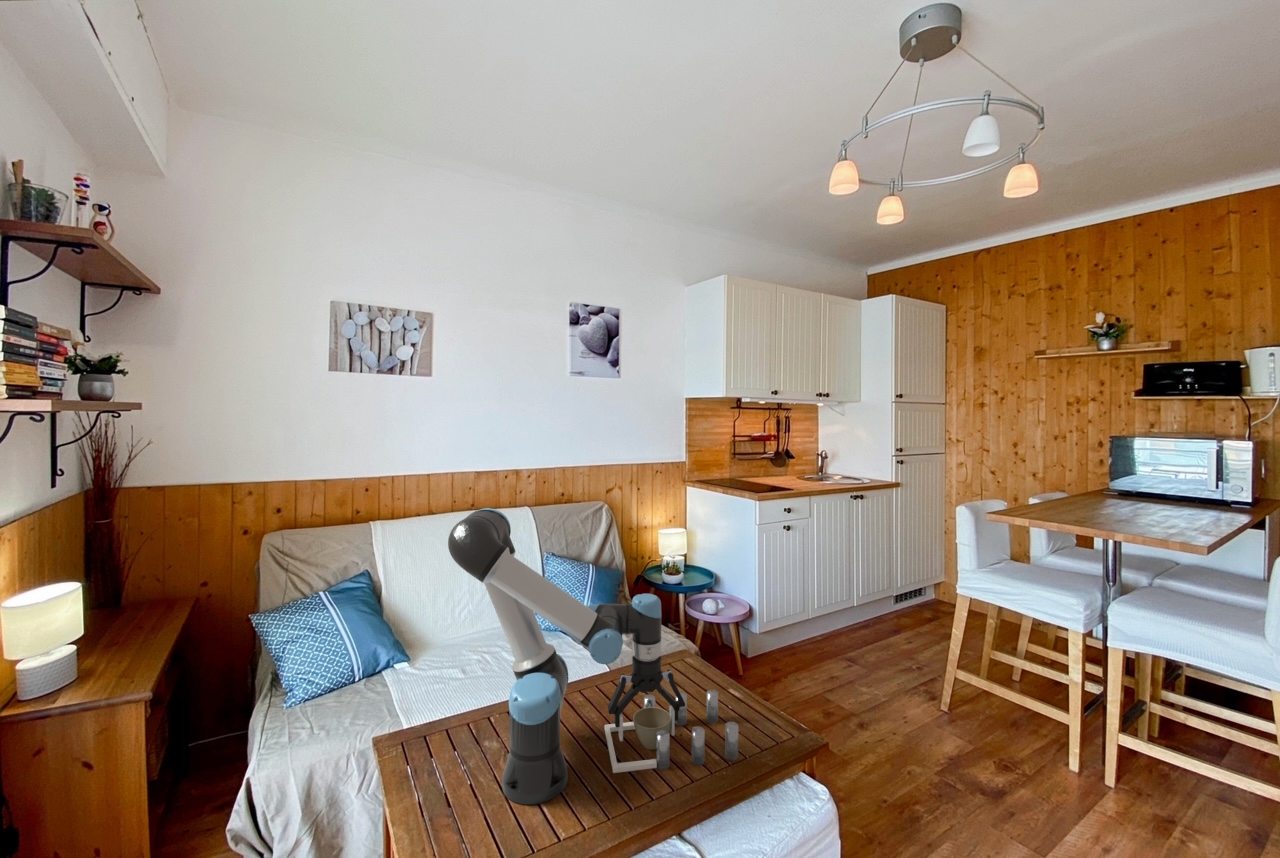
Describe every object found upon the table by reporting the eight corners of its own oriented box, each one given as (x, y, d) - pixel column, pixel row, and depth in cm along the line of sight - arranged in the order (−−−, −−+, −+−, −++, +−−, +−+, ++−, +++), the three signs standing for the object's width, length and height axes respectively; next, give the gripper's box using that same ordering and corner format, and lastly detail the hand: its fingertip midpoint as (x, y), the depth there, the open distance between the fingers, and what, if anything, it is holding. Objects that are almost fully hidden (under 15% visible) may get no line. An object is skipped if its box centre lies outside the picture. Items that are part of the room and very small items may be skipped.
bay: (613, 772, 131) (613, 768, 131) (604, 729, 149) (604, 724, 149) (656, 767, 133) (656, 763, 133) (643, 725, 151) (643, 720, 151)
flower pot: (679, 743, 142) (679, 717, 142) (652, 761, 135) (651, 733, 135) (652, 727, 149) (652, 702, 149) (625, 743, 143) (625, 717, 142)
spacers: (657, 770, 132) (658, 738, 132) (642, 722, 152) (642, 695, 151) (740, 760, 136) (740, 729, 135) (715, 715, 156) (715, 688, 155)
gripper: (600, 666, 135) (600, 749, 136) (697, 658, 139) (696, 738, 140) (597, 652, 142) (597, 731, 143) (689, 645, 147) (688, 721, 148)
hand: (646, 735), depth 142 cm, fingers open, 13 cm apart
